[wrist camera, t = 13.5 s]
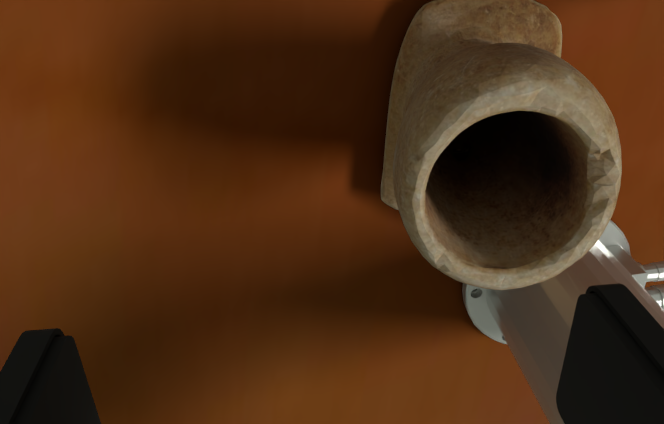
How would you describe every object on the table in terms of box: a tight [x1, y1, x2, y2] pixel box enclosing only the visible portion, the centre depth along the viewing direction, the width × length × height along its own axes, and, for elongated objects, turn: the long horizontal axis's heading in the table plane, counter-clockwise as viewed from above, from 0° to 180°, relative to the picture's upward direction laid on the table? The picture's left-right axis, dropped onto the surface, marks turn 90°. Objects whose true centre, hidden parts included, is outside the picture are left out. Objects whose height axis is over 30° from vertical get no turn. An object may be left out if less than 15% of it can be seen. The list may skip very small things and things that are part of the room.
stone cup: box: [381, 0, 622, 290], centre depth 31 cm, size 15×12×15 cm
